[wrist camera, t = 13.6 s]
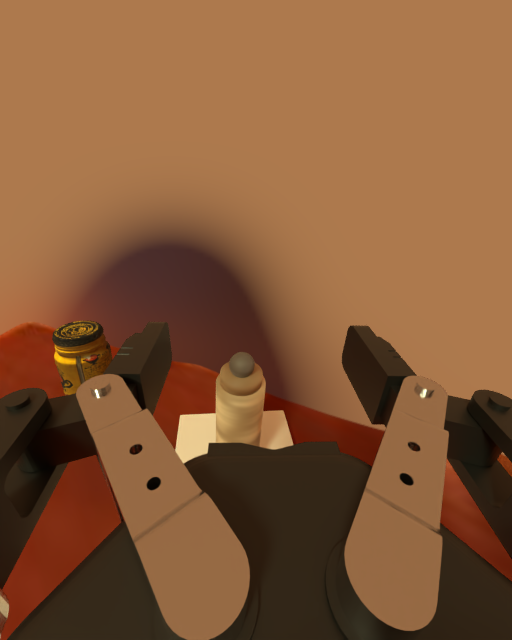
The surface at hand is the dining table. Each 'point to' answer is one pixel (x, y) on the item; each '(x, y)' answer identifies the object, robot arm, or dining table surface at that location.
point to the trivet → (202, 431)
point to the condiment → (80, 353)
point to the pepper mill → (240, 401)
